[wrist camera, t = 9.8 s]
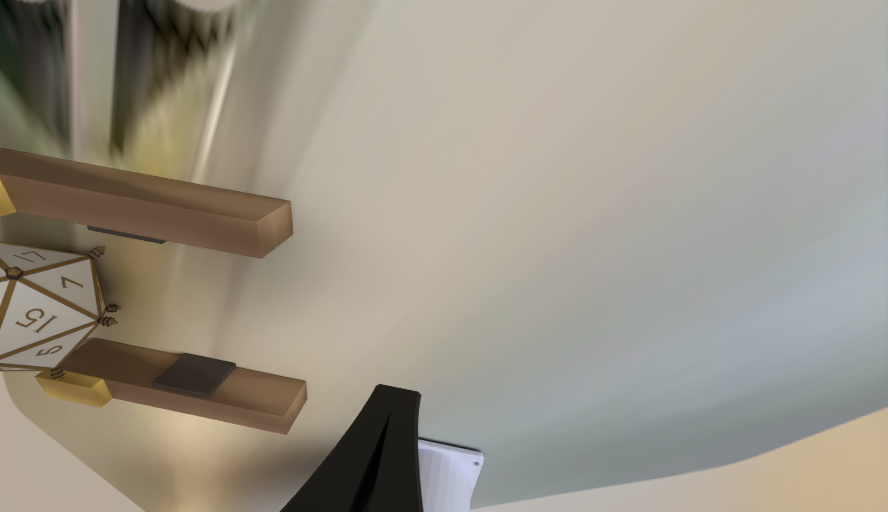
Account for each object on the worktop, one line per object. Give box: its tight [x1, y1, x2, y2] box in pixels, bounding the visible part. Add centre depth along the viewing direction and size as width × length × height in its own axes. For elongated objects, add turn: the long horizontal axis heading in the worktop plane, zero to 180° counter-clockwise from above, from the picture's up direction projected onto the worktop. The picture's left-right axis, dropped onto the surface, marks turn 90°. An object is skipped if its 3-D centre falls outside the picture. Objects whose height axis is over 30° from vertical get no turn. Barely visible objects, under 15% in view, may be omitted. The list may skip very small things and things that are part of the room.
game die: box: [0, 242, 121, 382], centre depth 19 cm, size 9×8×10 cm
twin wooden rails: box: [0, 148, 307, 435], centre depth 20 cm, size 16×17×4 cm
